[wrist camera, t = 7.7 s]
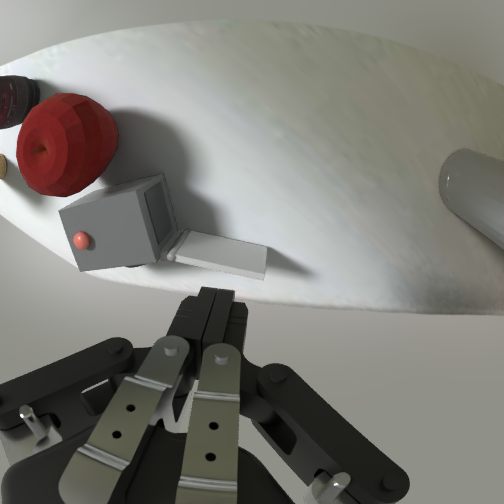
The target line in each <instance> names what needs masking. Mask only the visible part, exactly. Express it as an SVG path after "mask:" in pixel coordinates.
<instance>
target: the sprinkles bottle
mask: <svg viewBox="0 0 504 504" xmlns="http://www.w3.org/2000/svg"><path fill="white" fill-rule="evenodd" d="M5 173H6V161H5V158H4V156H3V155H1V154H0V179H1V178H3V177H4V176H5Z"/></svg>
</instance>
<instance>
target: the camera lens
mask: <svg viewBox="0 0 504 504" xmlns="http://www.w3.org/2000/svg"><path fill="white" fill-rule="evenodd" d="M39 98H40V92H39V88H38V85H37V83H36V82H35V81H34V80H32V79H28V78H27V77H23V76H16V75H11V76H0V129H6V128H10V127H13V126H16V125H19V124H21V123H23V121H24V120H25V118H26V117H27V115H28V114H29V112H30V111H31V109H32V108H33V107H35V106H36V105H38V104H39Z"/></svg>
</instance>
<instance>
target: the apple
mask: <svg viewBox="0 0 504 504" xmlns="http://www.w3.org/2000/svg"><path fill="white" fill-rule="evenodd" d="M118 136H119V135H118V131H117V127H116V124H115V121H114V120H113V118H112V117H111V115H110V113H109V112H108V111H107V110H106V109H105V108H104V107H102V106H101V105H100V104H99V103H97V102H96V101H94V100H92V99H90V98H89V97H87V96H83V95H78V94H73V93H58V94H55V95H53V96H52V97H50V98H48V99H46V100H45V101H43V102H41V103H40V104H38V105H36V106H35V107H33V108H32V109H31V111H30V112H29V114H28V115H27V117H26V118H25V120H24V121H23V124H22V127H21V129H20V132H19V135H18V139H17V150H16V157H17V162H18V166H19V169H20V173H21V174H22V176H23V178H24V179H25V181H26V183H27V184H28V186H29V187H30V188H32V189H33V190H35V191H36V192H38V193H39V194H41V195H48V196H56V197H68V196H71V195H73V194H76V193H78V192H80V191H82V190H83V189H85V188H86V187H87V186H89V185H90V184H92V183H93V182H94V181H95V180H96V179H97V178H98V177H99V176H100V175H101V174H102V173H103V172H104V171H105V169H106V168H107V166H108V165H109V163H110V161H111V160H112V158H113V156H114V154H115V152H116V150H117V144H118Z"/></svg>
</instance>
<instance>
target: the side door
mask: <svg viewBox="0 0 504 504" xmlns="http://www.w3.org/2000/svg"><path fill="white" fill-rule="evenodd" d="M266 255H267V247H265V246H261V245H256V244H251V243H247V242H242V241H238V240H233V239H228V238H224V237H219V236H214V235H210V234H205V233H200V232H196V231H191V230H190V229H186V230H185V231H184V232H183V234H182V235H181V236H180V238H179V239H178V241H177V242H176V243H175V245H174V246H173V248H172V249H171V250H170V252H169V253H168V255H167V259H168V260H169V261H171V262H173V261H176V262H181V263H185V264H189V265H194V266H198V267H203V268H207V269H212V270H216V271H221V272H225V273H230V274H234V275H239V276H244V277H248V278H253V279H258V280H263V281H264V277H265V271H266Z"/></svg>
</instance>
